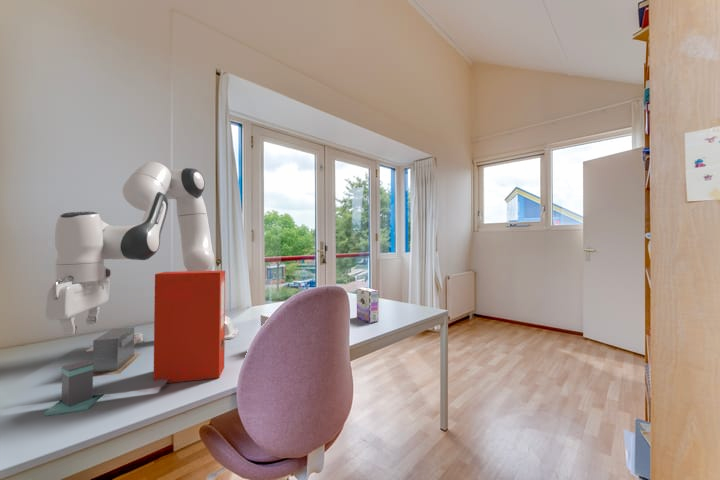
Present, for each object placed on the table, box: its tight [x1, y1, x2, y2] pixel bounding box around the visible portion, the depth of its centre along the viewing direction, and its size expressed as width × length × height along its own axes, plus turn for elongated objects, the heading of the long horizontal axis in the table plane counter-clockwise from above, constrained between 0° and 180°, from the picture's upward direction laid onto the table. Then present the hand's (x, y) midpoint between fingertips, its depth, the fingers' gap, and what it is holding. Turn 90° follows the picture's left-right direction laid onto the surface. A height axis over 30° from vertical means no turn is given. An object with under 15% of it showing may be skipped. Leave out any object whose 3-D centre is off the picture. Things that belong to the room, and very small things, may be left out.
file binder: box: [153, 270, 226, 384], centre depth 88 cm, size 8×17×32 cm, turn 105°
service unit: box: [92, 326, 135, 374], centre depth 92 cm, size 7×12×10 cm, turn 19°
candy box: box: [356, 286, 380, 324], centre depth 153 cm, size 14×6×16 cm, turn 30°
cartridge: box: [61, 359, 94, 407], centre depth 73 cm, size 5×5×9 cm
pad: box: [44, 393, 104, 416], centre depth 73 cm, size 8×8×1 cm
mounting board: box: [93, 353, 142, 377], centre depth 92 cm, size 10×16×2 cm, turn 19°
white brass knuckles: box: [86, 333, 145, 352], centre depth 110 cm, size 3×18×15 cm
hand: (81, 328), depth 73 cm, fingers open, 8 cm apart
